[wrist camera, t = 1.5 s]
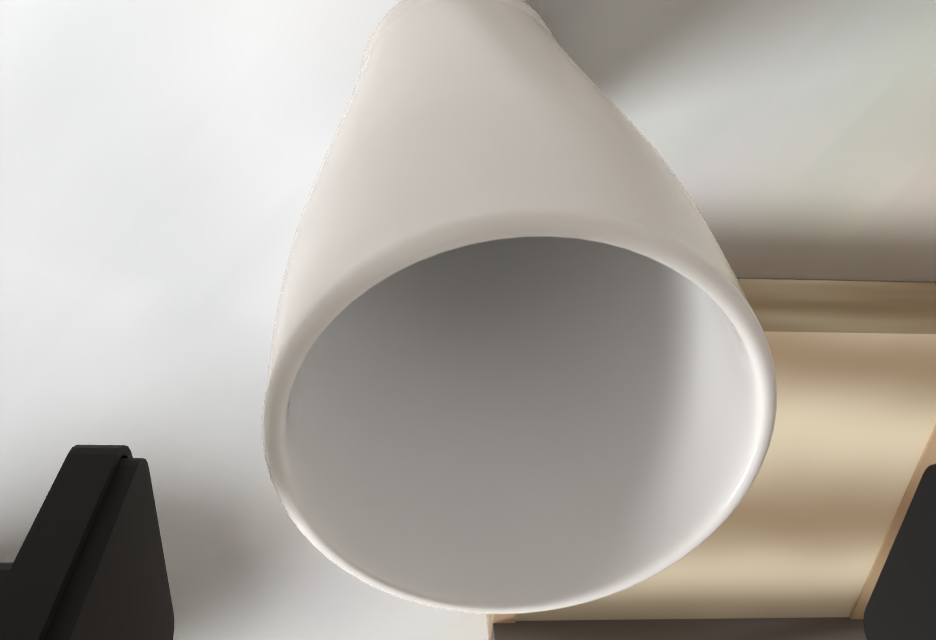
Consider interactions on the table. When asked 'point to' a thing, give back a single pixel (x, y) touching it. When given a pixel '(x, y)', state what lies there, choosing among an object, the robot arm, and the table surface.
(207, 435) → the table surface
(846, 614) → the dock
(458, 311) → the white tapered cup
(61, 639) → the robot arm
